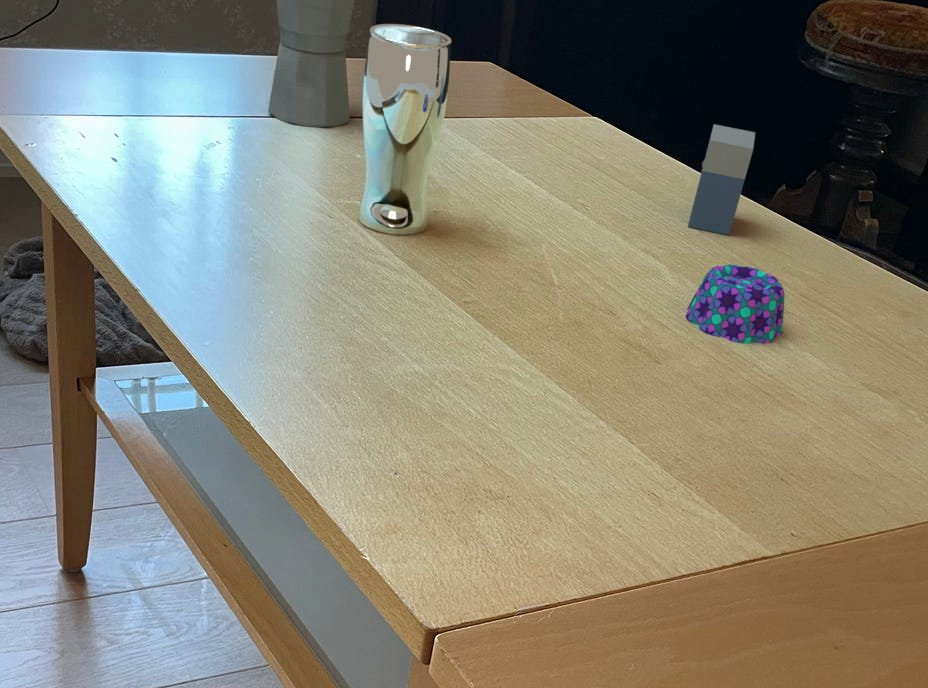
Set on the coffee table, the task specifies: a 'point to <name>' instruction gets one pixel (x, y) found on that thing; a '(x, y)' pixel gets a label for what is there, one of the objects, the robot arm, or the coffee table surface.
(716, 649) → the coffee table surface
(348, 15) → the coffeepot
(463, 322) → the coffee table surface
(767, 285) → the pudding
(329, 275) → the coffee table surface
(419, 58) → the beer glass
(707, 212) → the block
